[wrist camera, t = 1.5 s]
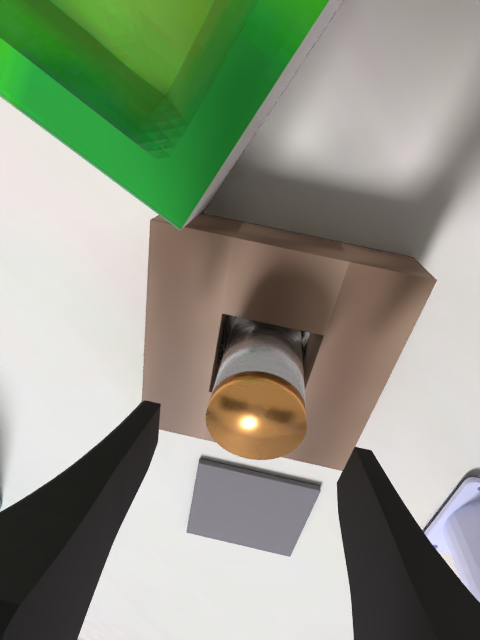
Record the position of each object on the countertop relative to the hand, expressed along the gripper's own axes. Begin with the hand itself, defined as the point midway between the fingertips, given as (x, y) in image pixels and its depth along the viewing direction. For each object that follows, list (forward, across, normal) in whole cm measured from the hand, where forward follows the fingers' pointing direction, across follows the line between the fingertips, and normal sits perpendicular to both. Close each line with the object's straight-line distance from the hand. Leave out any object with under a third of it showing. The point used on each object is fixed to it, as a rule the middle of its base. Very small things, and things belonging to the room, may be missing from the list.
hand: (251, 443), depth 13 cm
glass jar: (+8, 0, 0) cm, 8 cm away
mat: (+8, -2, +16) cm, 18 cm away
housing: (+8, 0, 0) cm, 8 cm away
